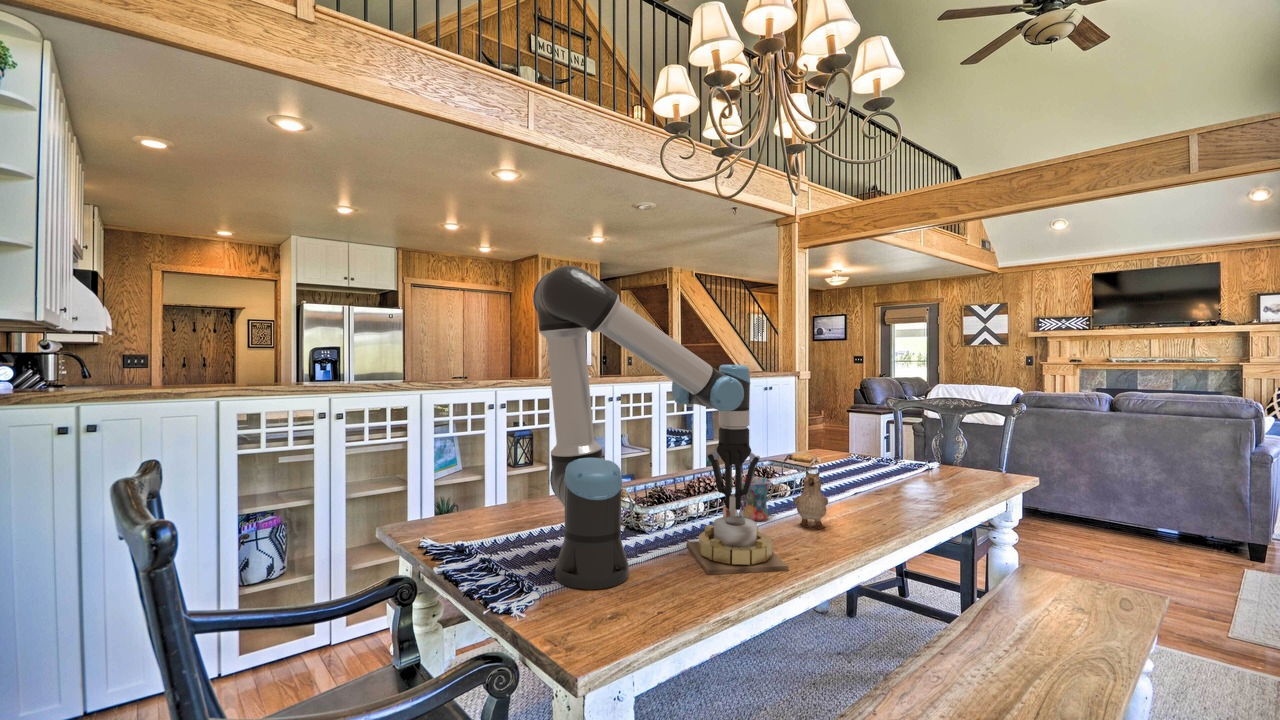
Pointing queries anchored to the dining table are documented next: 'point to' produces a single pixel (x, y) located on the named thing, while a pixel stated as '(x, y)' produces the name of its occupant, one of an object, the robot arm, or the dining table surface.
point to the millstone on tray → (734, 548)
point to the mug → (756, 499)
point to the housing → (735, 535)
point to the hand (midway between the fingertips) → (733, 521)
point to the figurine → (811, 501)
